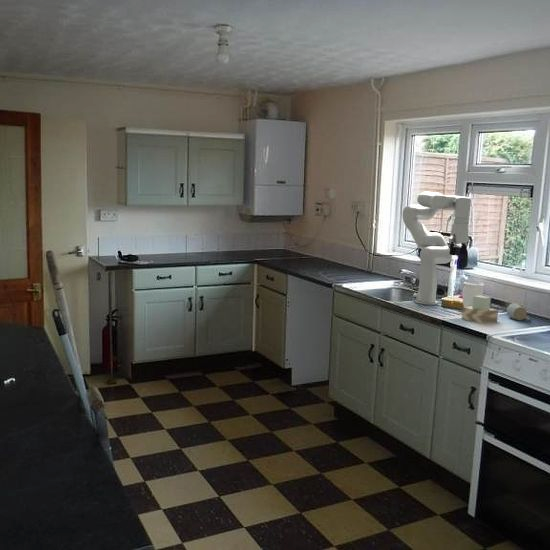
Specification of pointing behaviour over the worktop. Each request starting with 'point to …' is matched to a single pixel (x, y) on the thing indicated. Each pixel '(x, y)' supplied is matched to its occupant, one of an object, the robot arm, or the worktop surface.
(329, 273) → the worktop surface
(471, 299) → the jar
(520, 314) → the ceramic mug
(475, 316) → the birch block
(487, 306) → the sage tub
